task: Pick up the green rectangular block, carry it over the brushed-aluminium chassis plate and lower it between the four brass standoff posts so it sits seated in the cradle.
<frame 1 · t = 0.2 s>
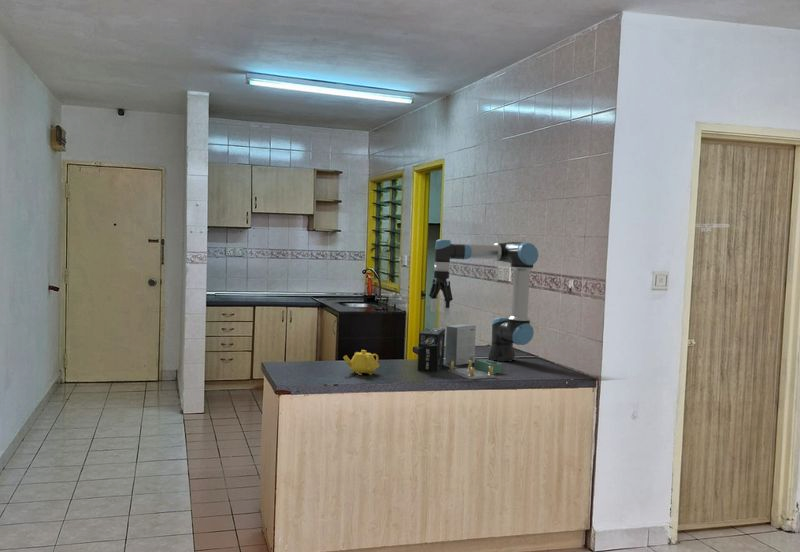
hand: (439, 313, 364), 28 cm above the table, fingers open, 13 cm apart
hard drive box: (459, 363, 382), on the table
box: (430, 368, 365), on the table
teapot: (360, 373, 341), on the table
chassis: (470, 374, 351), on the table
green rectangular block: (487, 371, 363), on the table
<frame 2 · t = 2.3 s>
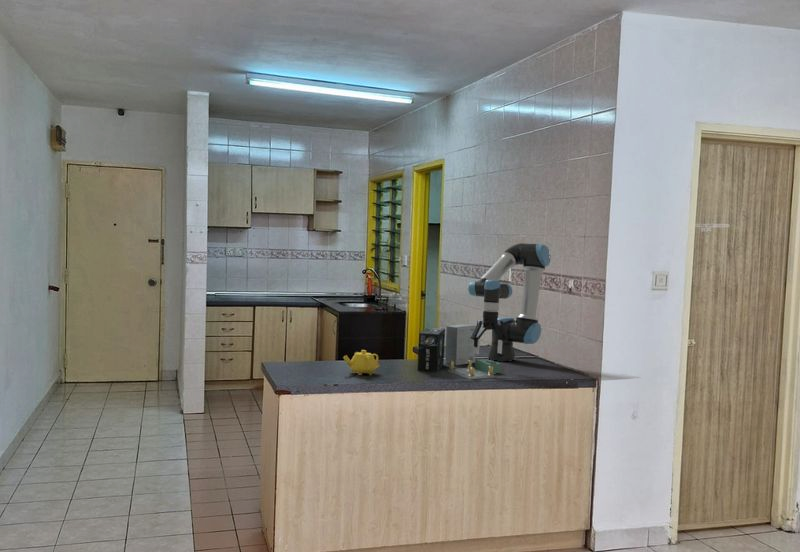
hand: (488, 353, 362), 9 cm above the table, fingers open, 13 cm apart
nothing on the table moved.
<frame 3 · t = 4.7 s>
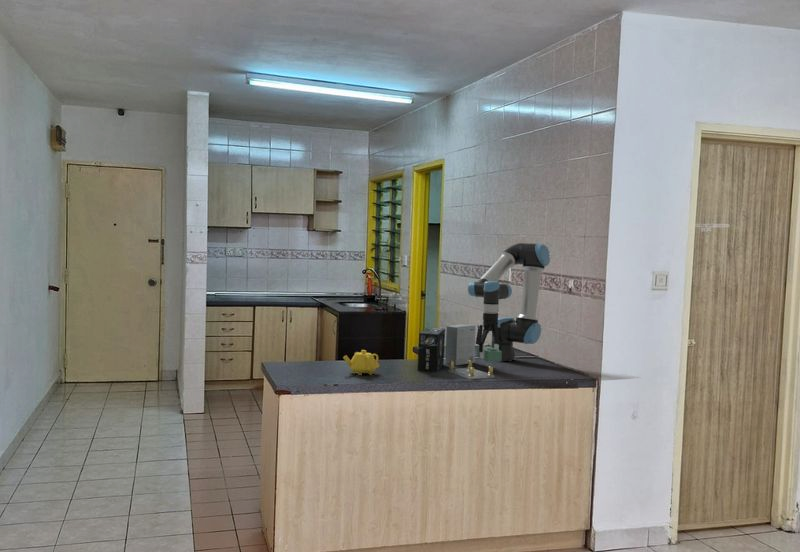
hand: (489, 357, 363), 7 cm above the table, fingers closed on green rectangular block, 8 cm apart
green rectangular block: (489, 359, 363), point 6 cm above the table, touching gripper
everything else where it was.
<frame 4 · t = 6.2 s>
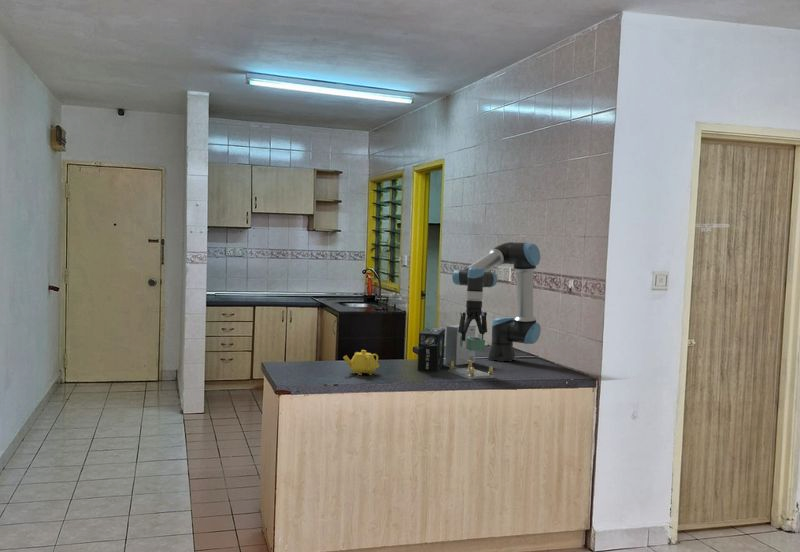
hand: (472, 347, 350), 13 cm above the table, fingers closed on green rectangular block, 8 cm apart
green rectangular block: (471, 348, 350), point 13 cm above the table, touching gripper
everything else where it was.
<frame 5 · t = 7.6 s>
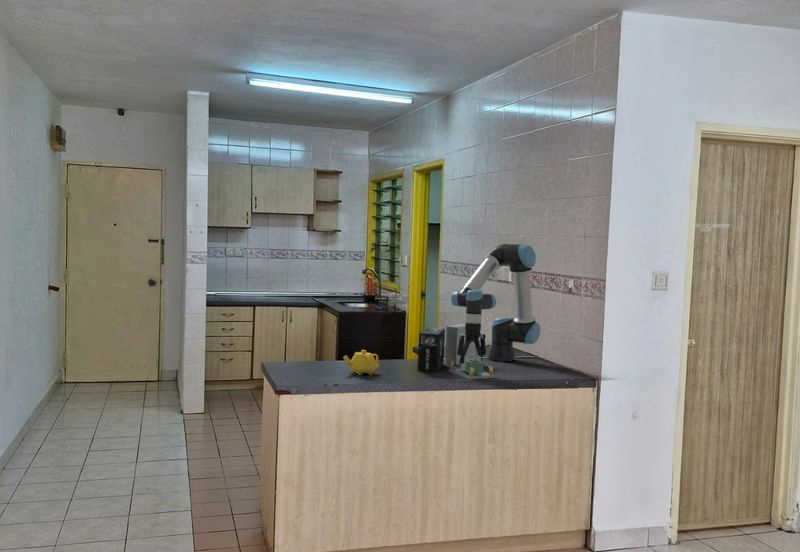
hand: (470, 369, 351), 2 cm above the table, fingers closed on green rectangular block, 8 cm apart
green rectangular block: (470, 370, 351), point 2 cm above the table, touching gripper
everything else where it was.
when the fingers open (2 cm above the table, at t = 8.1 s): green rectangular block stays where it is, resting on chassis.
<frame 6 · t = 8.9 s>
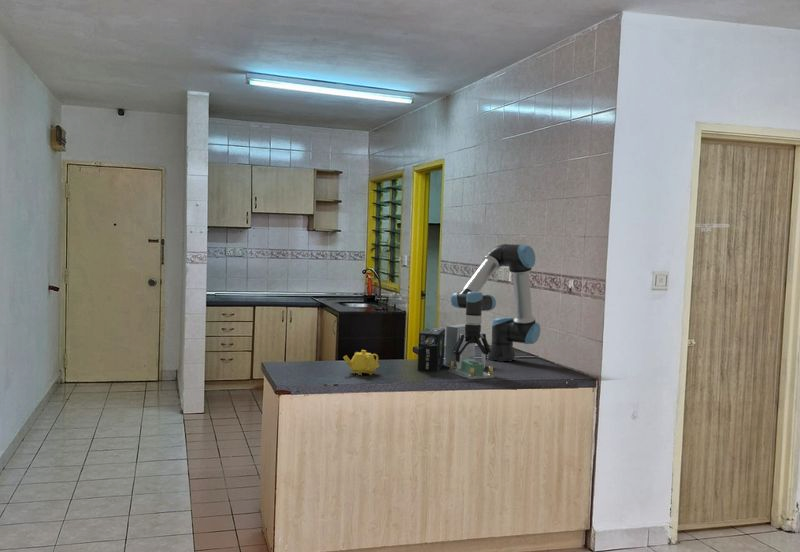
hand: (471, 367, 351), 3 cm above the table, fingers open, 13 cm apart
green rectangular block: (470, 372, 351), point 1 cm above the table, touching chassis
everything else where it was.
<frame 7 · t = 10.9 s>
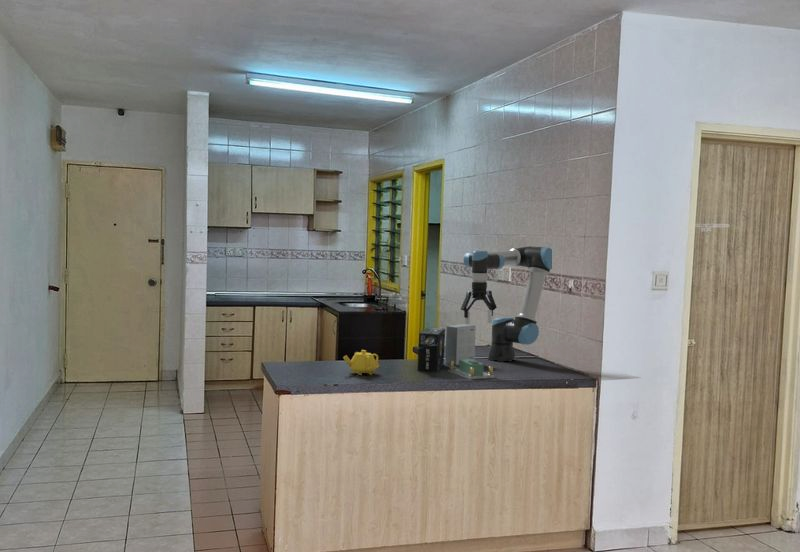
hand: (478, 323, 366), 23 cm above the table, fingers open, 13 cm apart
nothing on the table moved.
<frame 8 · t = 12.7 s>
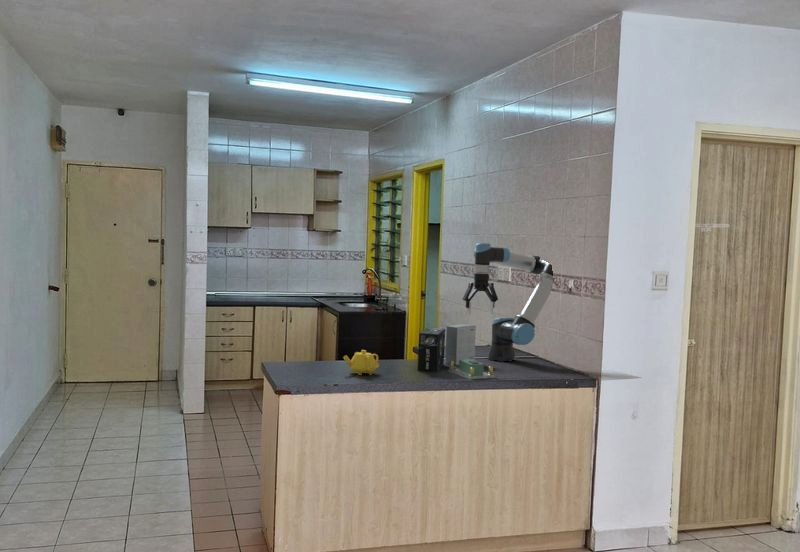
hand: (479, 314, 375), 27 cm above the table, fingers open, 13 cm apart
nothing on the table moved.
at the end: green rectangular block 0.0 cm off-centre on the chassis, point 1.2 cm above the chassis's base; green rectangular block tilted 0°; the gripper is holding nothing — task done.
